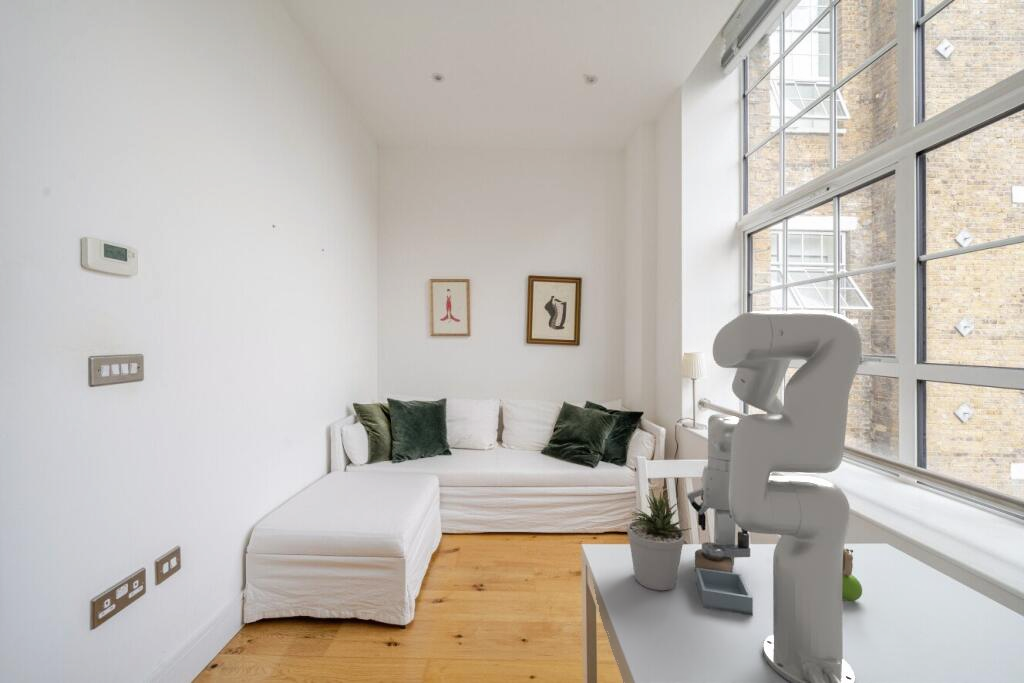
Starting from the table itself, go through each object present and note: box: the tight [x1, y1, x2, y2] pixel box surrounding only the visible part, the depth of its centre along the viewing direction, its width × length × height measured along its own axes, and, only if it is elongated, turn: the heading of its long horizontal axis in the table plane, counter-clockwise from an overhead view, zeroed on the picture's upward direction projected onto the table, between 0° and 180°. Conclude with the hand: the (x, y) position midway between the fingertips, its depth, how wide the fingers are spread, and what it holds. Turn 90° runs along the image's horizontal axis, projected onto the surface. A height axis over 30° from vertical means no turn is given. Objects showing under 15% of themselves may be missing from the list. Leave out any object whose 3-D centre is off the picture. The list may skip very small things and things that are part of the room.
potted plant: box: [626, 489, 692, 591], centre depth 95 cm, size 13×14×20 cm
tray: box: [695, 568, 754, 616], centre depth 89 cm, size 9×9×4 cm
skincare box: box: [713, 509, 737, 567], centre depth 105 cm, size 6×4×12 cm
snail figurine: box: [842, 548, 863, 602], centre depth 89 cm, size 5×6×12 cm
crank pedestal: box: [694, 548, 733, 573], centre depth 99 cm, size 9×8×4 cm
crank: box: [701, 531, 751, 561], centre depth 99 cm, size 11×5×5 cm, turn 94°
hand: (723, 530), depth 106 cm, fingers open, 9 cm apart
